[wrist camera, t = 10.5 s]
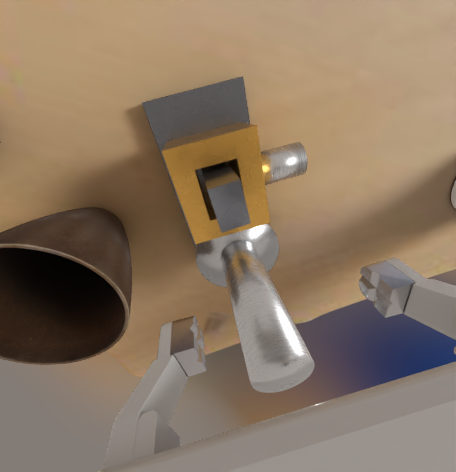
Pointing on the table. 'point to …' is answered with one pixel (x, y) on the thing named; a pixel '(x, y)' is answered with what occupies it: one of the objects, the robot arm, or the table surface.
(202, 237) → the gold block fixture
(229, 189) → the grey square rod
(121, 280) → the plant pot
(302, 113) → the table surface
